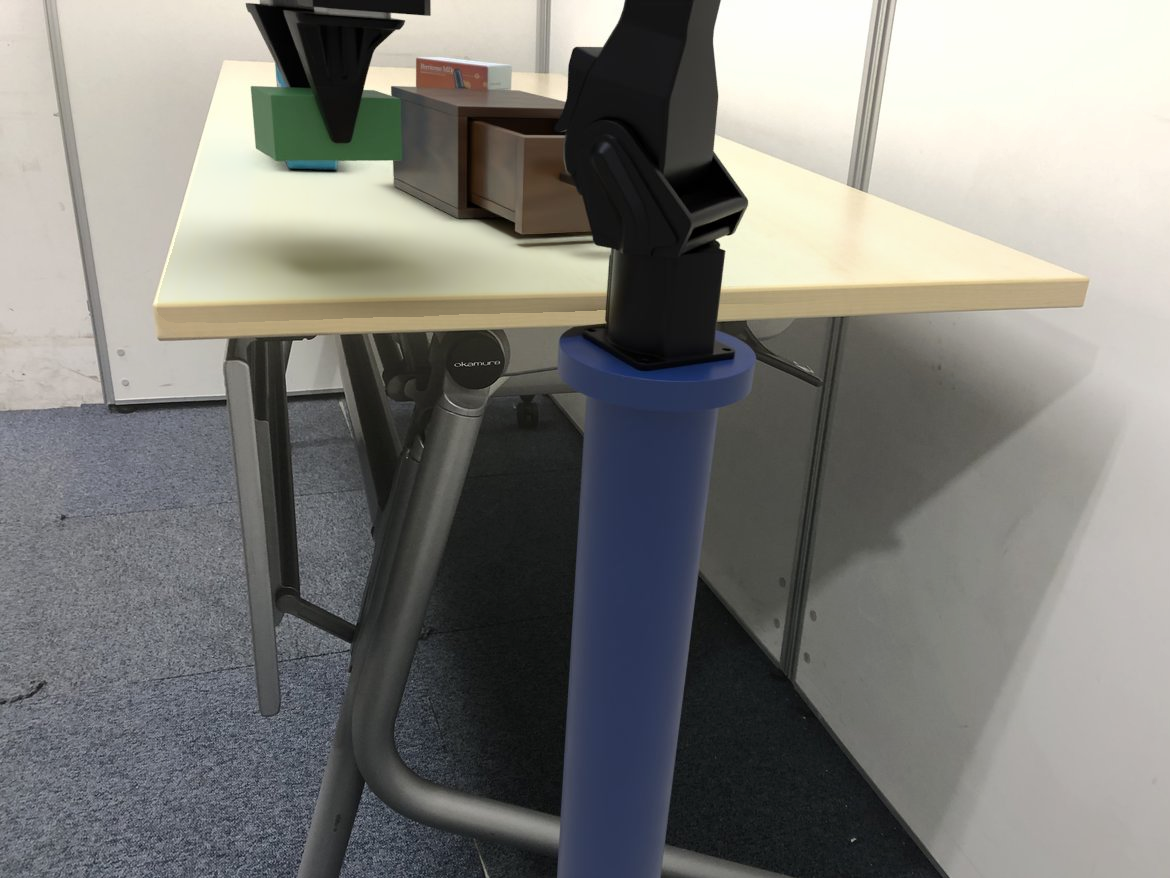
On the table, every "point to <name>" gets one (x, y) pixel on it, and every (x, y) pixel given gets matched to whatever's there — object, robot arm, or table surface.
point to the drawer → (523, 174)
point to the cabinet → (452, 139)
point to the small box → (462, 74)
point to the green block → (323, 127)
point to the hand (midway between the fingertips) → (328, 137)
